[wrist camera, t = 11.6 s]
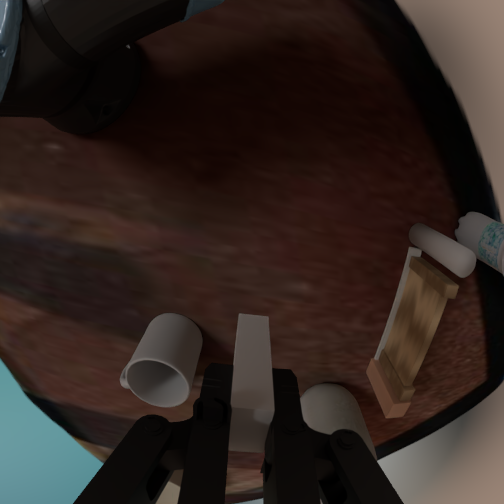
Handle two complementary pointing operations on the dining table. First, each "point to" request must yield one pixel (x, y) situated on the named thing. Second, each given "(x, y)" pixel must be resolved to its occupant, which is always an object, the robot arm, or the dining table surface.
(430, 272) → the gate
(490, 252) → the bottle
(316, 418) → the white tapered flask
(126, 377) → the mug
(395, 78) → the dining table surface
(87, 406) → the dining table surface
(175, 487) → the bowl
